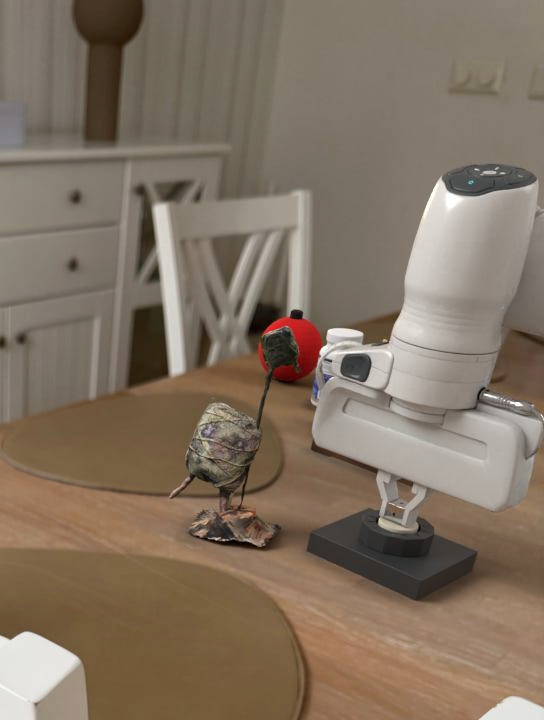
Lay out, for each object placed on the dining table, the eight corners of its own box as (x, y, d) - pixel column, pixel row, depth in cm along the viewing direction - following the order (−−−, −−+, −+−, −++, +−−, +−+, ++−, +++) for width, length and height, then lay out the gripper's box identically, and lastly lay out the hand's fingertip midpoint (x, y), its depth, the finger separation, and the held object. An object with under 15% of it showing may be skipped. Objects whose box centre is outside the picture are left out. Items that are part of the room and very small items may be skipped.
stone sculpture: (195, 501, 103) (223, 306, 93) (292, 535, 97) (333, 331, 87) (152, 524, 97) (176, 319, 87) (252, 561, 92) (291, 347, 81)
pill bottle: (341, 398, 137) (357, 326, 132) (358, 412, 133) (375, 338, 127) (303, 398, 136) (317, 326, 131) (319, 412, 132) (334, 337, 126)
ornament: (326, 381, 144) (340, 311, 139) (298, 393, 138) (312, 321, 133) (271, 367, 149) (283, 299, 144) (242, 378, 143) (254, 308, 137)
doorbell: (472, 572, 93) (484, 533, 91) (415, 602, 87) (427, 562, 85) (364, 527, 100) (373, 490, 98) (305, 551, 94) (313, 513, 92)
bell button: (421, 541, 92) (426, 524, 91) (400, 550, 90) (405, 533, 89) (388, 527, 94) (392, 510, 93) (367, 536, 92) (371, 519, 91)
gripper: (570, 402, 80) (518, 554, 87) (358, 341, 92) (327, 478, 99) (534, 415, 76) (482, 573, 83) (318, 350, 88) (289, 491, 96)
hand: (396, 520), depth 91 cm, fingers closed, pressing on bell button
